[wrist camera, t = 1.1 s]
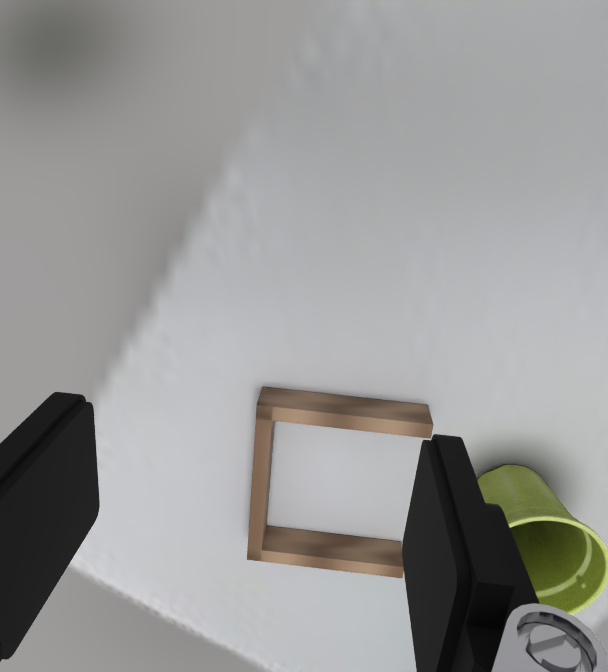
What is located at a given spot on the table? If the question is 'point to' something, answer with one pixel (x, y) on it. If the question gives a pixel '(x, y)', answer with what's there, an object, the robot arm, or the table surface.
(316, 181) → the table surface
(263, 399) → the dock
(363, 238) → the table surface
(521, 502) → the plant pot
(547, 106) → the table surface
